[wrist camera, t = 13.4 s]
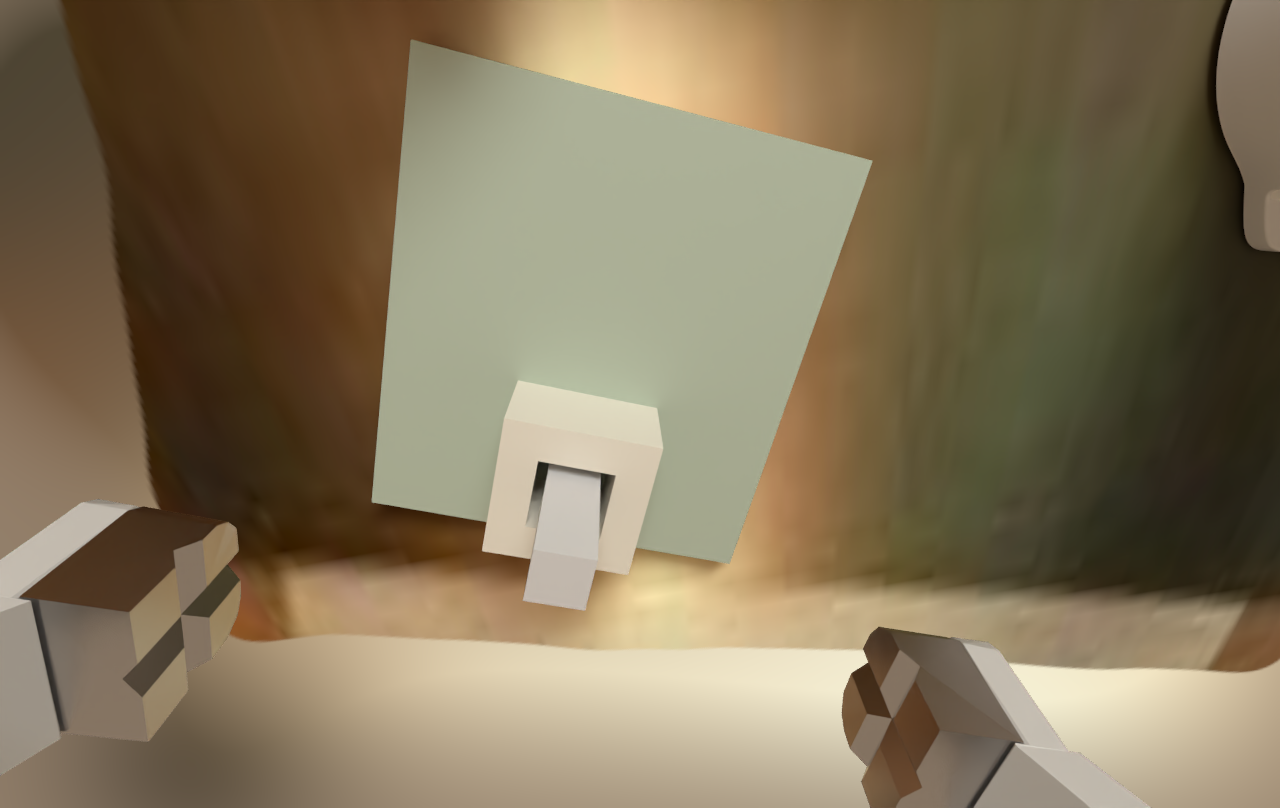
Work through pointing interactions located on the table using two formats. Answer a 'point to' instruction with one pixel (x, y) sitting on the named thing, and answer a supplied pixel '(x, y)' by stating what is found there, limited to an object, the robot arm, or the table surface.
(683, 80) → the table surface
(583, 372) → the post board
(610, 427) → the square collar
